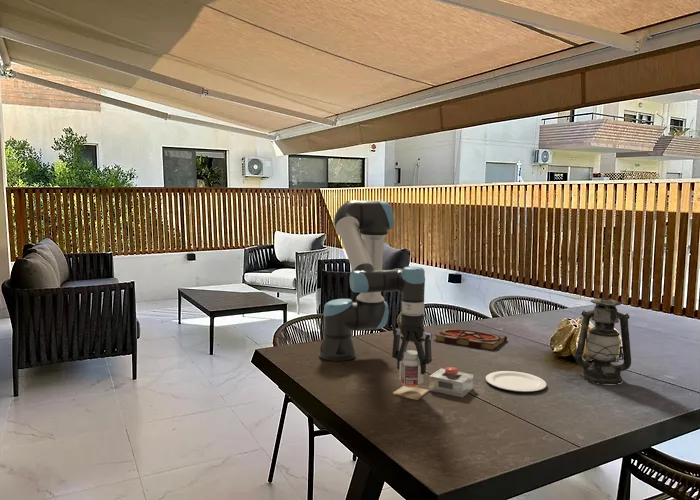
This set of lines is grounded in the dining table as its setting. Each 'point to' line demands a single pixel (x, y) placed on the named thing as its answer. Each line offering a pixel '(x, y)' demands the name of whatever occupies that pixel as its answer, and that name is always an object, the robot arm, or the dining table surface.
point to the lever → (451, 371)
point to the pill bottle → (410, 369)
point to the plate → (516, 381)
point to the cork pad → (410, 392)
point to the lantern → (604, 343)
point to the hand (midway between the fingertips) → (411, 380)
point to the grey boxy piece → (451, 383)
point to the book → (470, 338)
